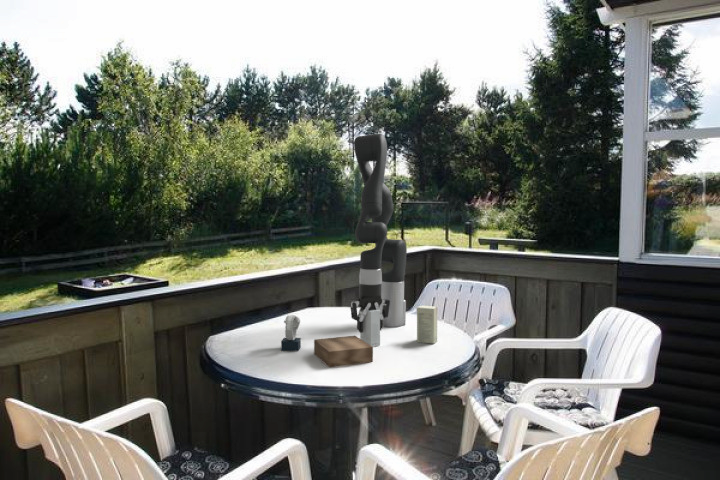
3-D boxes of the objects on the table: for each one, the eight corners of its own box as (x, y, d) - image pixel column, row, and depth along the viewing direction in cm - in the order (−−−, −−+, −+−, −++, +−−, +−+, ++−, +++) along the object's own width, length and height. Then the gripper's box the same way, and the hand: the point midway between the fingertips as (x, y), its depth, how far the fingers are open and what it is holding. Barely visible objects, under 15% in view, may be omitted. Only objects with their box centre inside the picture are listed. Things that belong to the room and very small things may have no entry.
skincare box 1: (380, 345, 179) (381, 310, 178) (370, 347, 176) (371, 311, 175) (368, 341, 184) (369, 306, 183) (358, 343, 181) (359, 308, 180)
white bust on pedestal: (301, 345, 177) (301, 313, 176) (297, 352, 169) (297, 318, 168) (285, 345, 178) (285, 312, 177) (279, 352, 170) (279, 318, 169)
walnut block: (354, 350, 174) (355, 335, 174) (372, 363, 161) (373, 347, 161) (314, 355, 169) (314, 339, 168) (329, 368, 156) (329, 351, 155)
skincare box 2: (437, 341, 185) (438, 306, 184) (433, 344, 181) (434, 308, 180) (419, 338, 188) (420, 304, 187) (415, 341, 184) (416, 306, 183)
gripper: (384, 279, 184) (383, 326, 186) (346, 281, 178) (345, 330, 180) (394, 282, 178) (393, 331, 179) (355, 284, 172) (354, 335, 173)
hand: (369, 330), depth 179 cm, fingers open, 6 cm apart
